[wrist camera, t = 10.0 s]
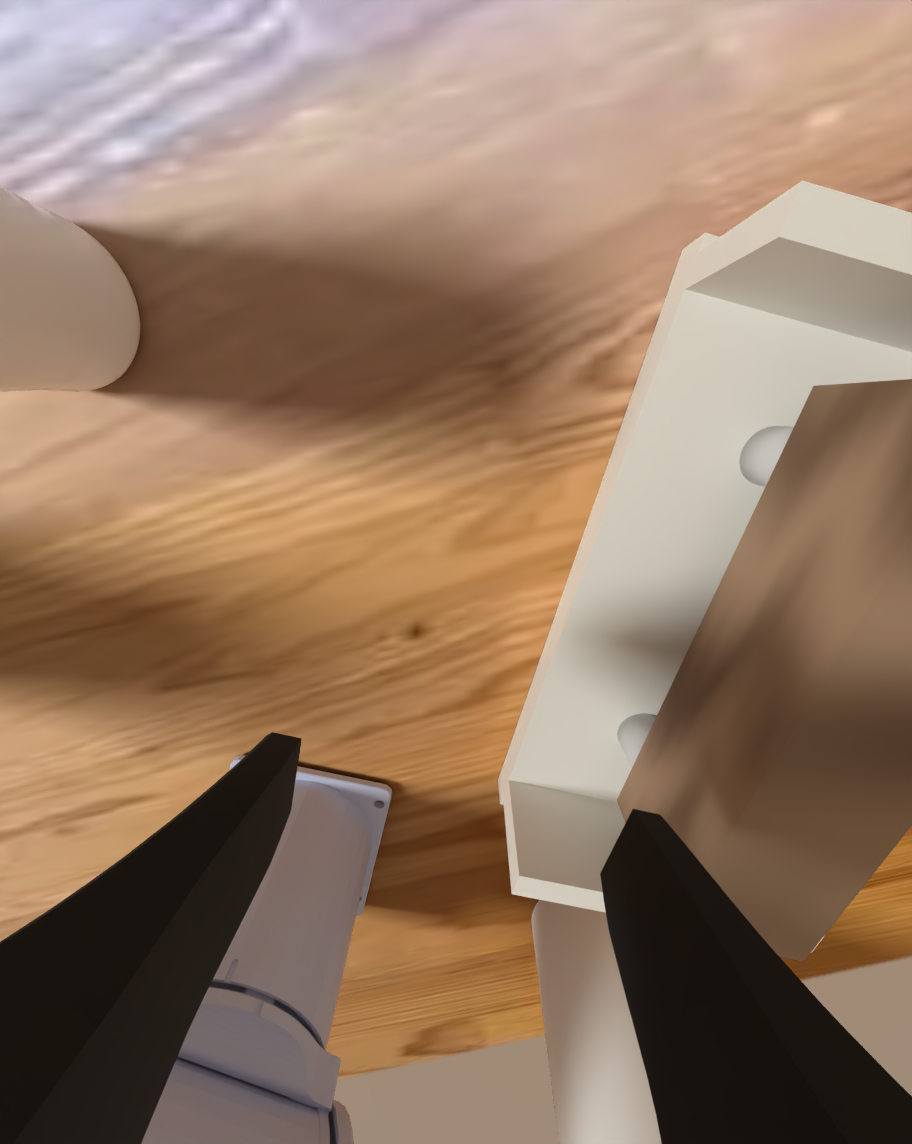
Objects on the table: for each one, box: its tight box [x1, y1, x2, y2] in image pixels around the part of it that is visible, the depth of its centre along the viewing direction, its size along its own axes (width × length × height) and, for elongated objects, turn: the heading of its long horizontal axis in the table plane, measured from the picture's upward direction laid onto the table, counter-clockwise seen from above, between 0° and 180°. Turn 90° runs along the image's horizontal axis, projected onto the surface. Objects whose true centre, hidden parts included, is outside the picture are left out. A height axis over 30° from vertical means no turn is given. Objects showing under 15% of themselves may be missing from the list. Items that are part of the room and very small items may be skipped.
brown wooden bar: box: [617, 379, 912, 962], centre depth 13 cm, size 16×4×5 cm, turn 167°
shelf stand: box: [498, 181, 912, 953], centre depth 16 cm, size 23×12×6 cm, turn 167°
